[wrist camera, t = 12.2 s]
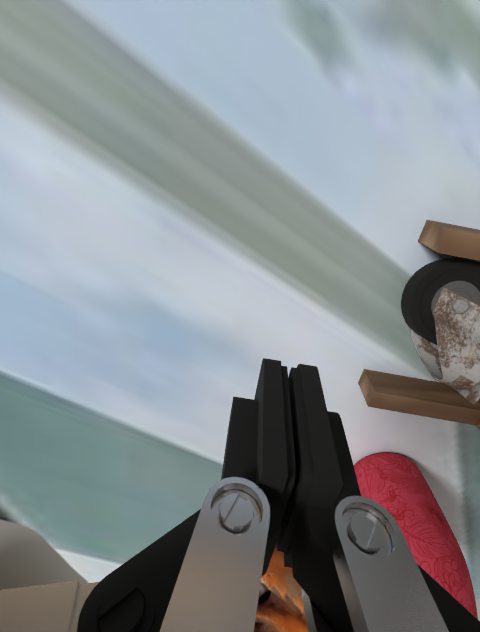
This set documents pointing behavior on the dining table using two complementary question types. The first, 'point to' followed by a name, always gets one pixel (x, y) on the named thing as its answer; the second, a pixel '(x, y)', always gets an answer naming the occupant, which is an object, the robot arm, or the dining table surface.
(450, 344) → the caster wheel
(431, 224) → the brown wooden frame
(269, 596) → the pumpkin
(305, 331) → the dining table surface
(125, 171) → the dining table surface
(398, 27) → the dining table surface
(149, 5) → the dining table surface
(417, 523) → the wine bottle
